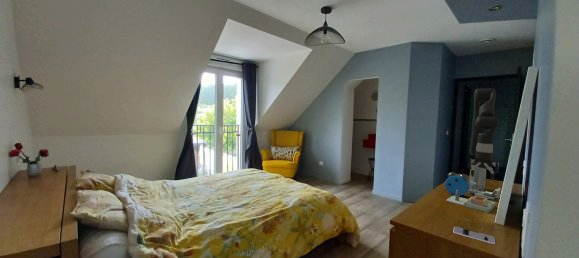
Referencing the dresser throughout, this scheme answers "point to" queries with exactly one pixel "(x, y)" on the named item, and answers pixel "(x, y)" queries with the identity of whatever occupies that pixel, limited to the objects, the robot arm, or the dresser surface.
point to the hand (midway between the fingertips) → (481, 178)
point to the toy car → (484, 193)
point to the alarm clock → (457, 183)
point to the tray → (485, 209)
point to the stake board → (452, 199)
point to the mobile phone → (474, 235)
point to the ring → (479, 201)
